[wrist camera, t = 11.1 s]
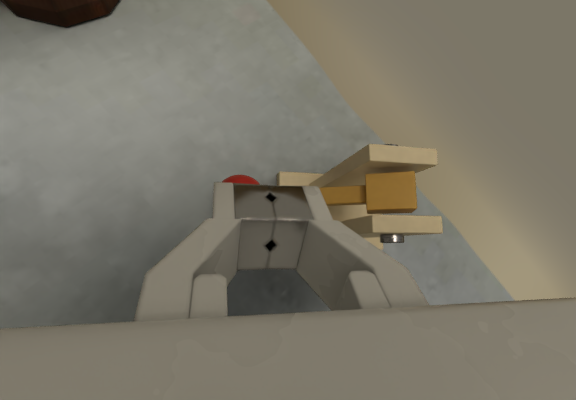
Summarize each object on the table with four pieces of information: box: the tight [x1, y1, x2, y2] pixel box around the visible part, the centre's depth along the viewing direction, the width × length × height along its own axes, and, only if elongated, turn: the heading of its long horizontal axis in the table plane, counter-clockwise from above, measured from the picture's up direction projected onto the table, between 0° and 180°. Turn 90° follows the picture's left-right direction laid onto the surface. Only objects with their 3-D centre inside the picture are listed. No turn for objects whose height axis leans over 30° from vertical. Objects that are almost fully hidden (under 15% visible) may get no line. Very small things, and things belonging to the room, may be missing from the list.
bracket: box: [277, 144, 443, 250], centre depth 24 cm, size 10×7×13 cm
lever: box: [222, 171, 417, 214], centre depth 21 cm, size 13×4×4 cm, turn 90°
